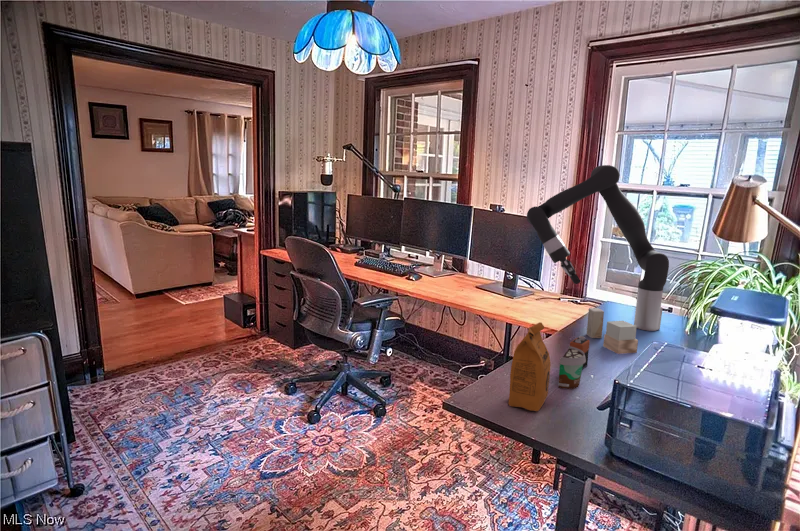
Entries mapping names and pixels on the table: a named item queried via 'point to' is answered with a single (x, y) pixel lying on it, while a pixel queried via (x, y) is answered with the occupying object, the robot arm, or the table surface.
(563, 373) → the food container
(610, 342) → the block
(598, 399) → the table surface
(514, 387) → the coffee package
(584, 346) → the battery
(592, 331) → the box
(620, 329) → the tower top
